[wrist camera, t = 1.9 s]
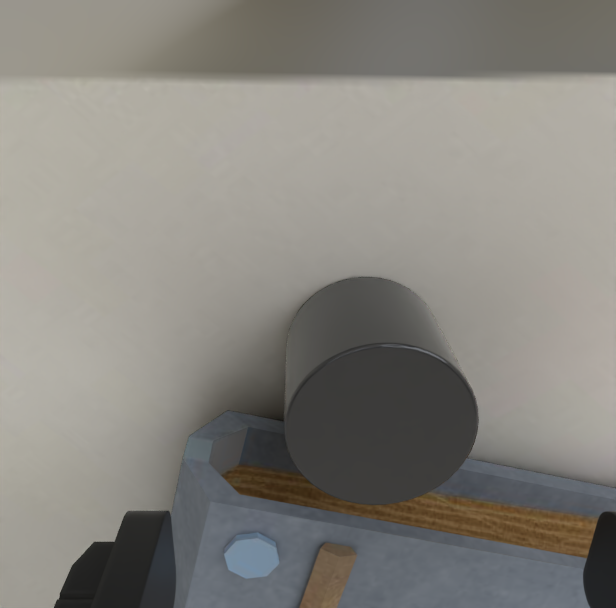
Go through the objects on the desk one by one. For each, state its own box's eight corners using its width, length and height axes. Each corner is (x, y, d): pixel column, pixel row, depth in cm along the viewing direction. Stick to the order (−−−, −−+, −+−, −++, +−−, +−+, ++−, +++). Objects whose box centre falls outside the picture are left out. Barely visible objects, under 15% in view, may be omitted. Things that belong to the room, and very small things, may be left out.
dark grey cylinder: (288, 273, 16) (285, 341, 12) (448, 278, 16) (495, 346, 12) (284, 409, 17) (281, 505, 14) (428, 412, 17) (463, 508, 14)
